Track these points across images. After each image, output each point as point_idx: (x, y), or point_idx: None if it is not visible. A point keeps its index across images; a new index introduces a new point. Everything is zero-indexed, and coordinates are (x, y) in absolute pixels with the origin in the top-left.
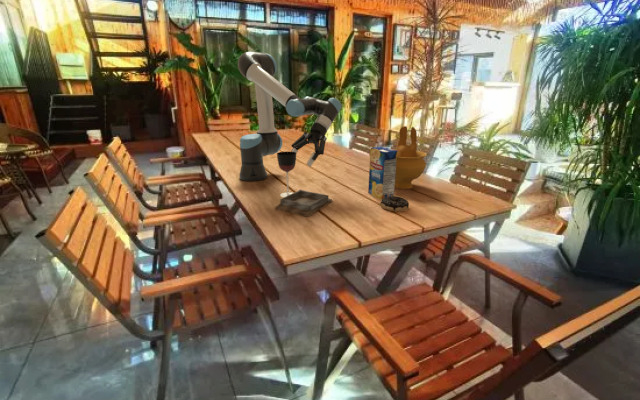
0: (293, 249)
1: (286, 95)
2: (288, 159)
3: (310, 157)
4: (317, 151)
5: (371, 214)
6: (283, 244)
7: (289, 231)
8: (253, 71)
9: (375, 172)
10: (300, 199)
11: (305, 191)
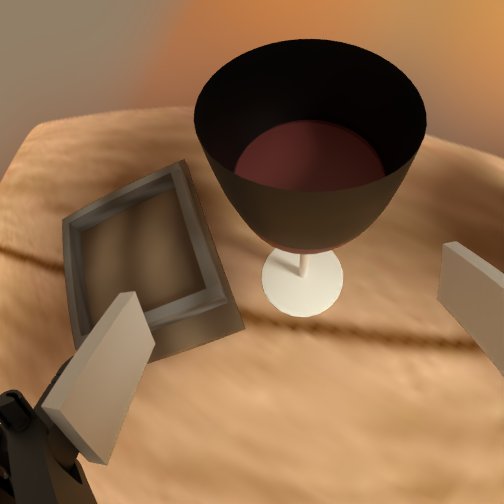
0: (36, 139)
1: None
2: (221, 113)
3: (93, 341)
4: (11, 426)
5: None
6: (54, 130)
7: (68, 150)
8: None
9: None
10: (175, 266)
11: (180, 301)
